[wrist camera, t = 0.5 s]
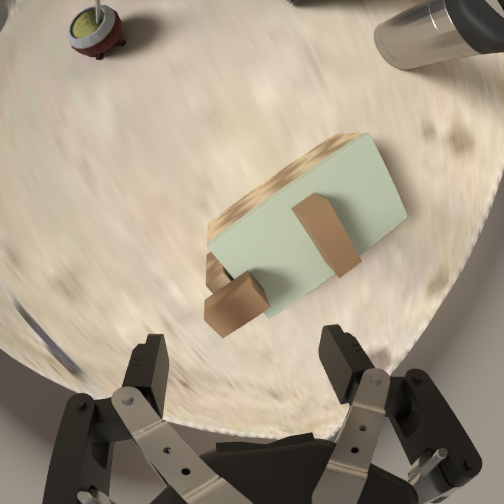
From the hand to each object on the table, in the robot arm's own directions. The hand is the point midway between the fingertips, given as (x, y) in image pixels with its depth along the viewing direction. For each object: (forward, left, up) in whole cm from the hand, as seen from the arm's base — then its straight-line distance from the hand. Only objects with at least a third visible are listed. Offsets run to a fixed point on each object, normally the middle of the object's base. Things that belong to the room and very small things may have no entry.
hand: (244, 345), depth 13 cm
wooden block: (+3, +6, -17) cm, 18 cm away
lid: (-9, +6, -19) cm, 22 cm away
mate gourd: (-3, -32, -27) cm, 42 cm away
